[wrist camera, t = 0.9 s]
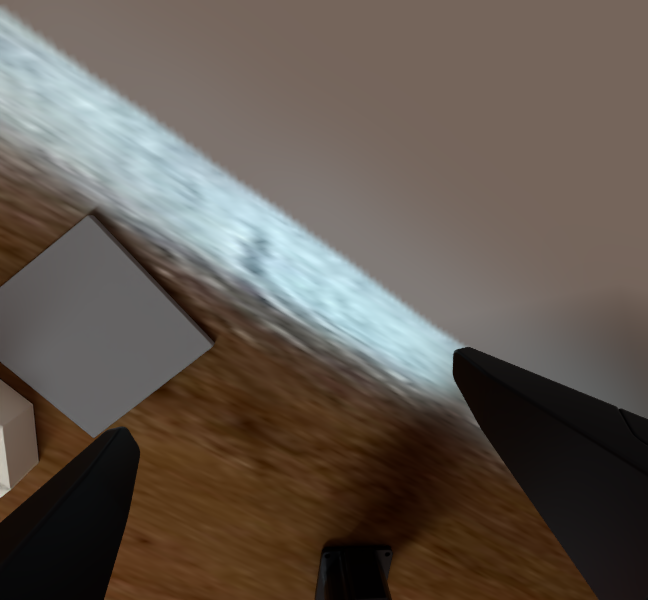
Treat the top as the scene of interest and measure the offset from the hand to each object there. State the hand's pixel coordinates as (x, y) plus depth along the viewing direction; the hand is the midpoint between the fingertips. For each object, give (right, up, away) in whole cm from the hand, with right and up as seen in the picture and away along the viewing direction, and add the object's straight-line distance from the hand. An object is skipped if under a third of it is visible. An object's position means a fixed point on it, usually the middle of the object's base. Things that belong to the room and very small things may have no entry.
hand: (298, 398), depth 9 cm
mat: (-15, 0, +13) cm, 20 cm away
